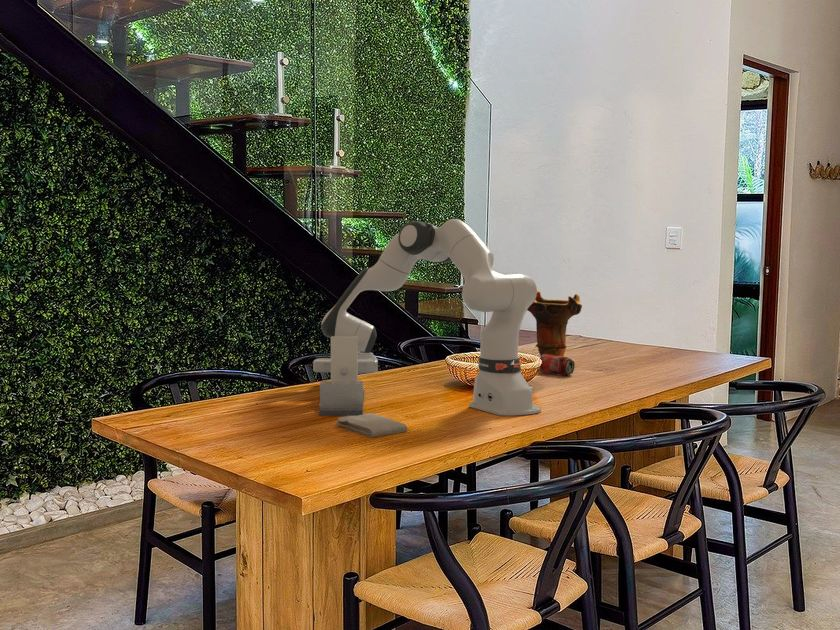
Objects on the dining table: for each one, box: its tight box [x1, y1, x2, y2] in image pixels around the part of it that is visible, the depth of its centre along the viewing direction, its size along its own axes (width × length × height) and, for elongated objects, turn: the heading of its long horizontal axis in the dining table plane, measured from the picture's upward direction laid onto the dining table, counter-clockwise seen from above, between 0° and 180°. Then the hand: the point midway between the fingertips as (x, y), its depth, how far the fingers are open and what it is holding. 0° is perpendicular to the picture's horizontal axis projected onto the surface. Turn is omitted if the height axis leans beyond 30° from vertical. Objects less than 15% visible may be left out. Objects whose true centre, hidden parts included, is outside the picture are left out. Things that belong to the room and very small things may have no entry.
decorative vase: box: [527, 289, 583, 357], centre depth 350 cm, size 21×23×28 cm
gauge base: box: [318, 380, 365, 417], centre depth 262 cm, size 30×12×8 cm, turn 3°
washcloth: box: [335, 412, 408, 438], centre depth 232 cm, size 12×18×3 cm, turn 38°
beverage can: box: [538, 354, 576, 376], centre depth 320 cm, size 7×12×7 cm, turn 46°
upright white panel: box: [330, 336, 359, 381], centre depth 269 cm, size 8×10×17 cm
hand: (344, 369), depth 272 cm, fingers closed
